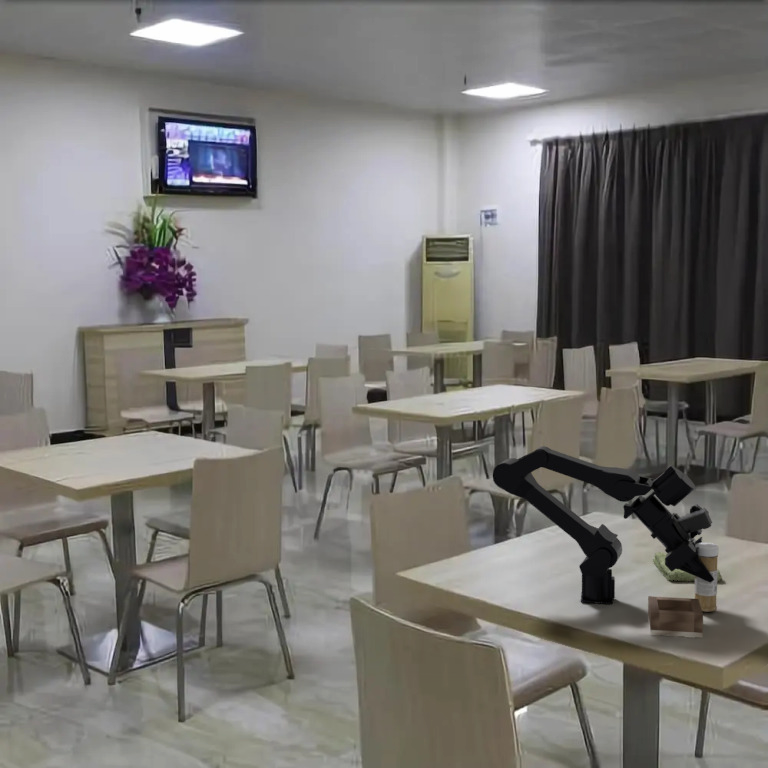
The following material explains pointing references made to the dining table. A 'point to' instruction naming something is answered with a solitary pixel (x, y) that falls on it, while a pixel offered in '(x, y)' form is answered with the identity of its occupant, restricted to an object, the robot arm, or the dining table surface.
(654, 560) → the washcloth
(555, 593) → the dining table surface
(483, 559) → the dining table surface
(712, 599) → the sprinkles bottle
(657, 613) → the socket block
